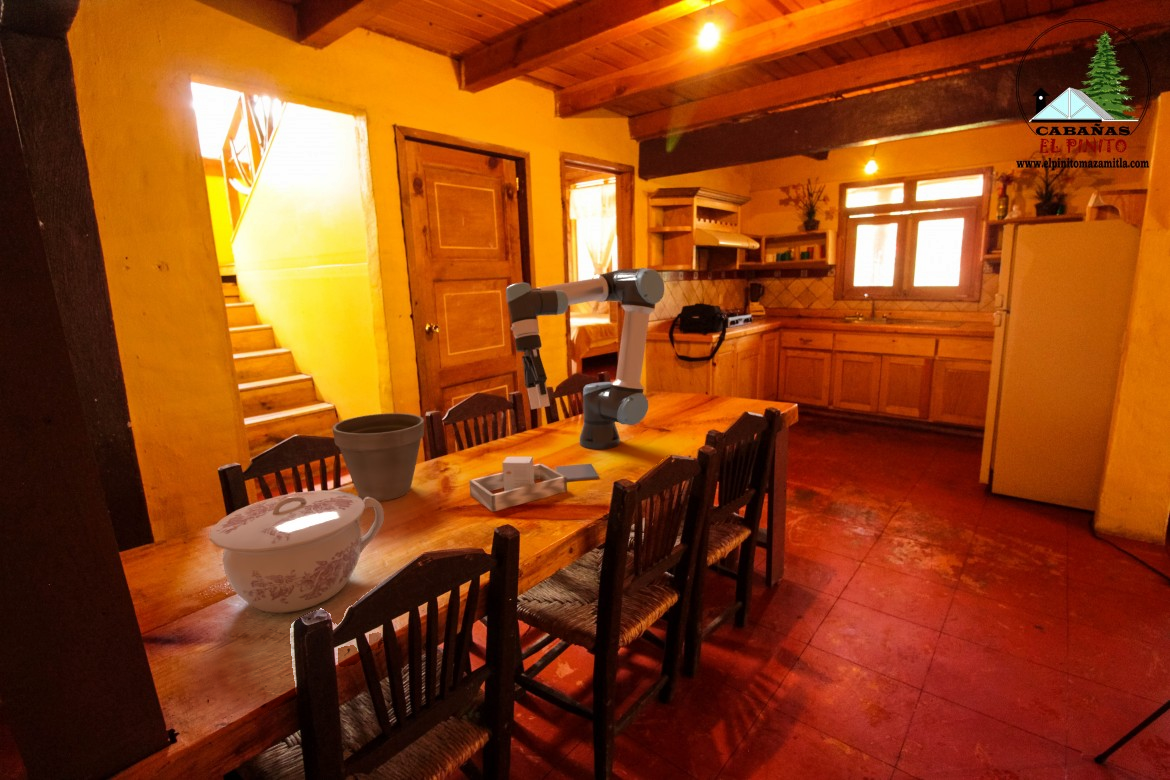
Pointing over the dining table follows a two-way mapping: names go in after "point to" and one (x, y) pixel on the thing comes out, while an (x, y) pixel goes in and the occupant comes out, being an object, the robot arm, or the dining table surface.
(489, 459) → the dining table surface
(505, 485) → the small box
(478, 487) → the crate
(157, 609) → the dining table surface
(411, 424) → the plant pot
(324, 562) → the chamber pot
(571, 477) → the plate
